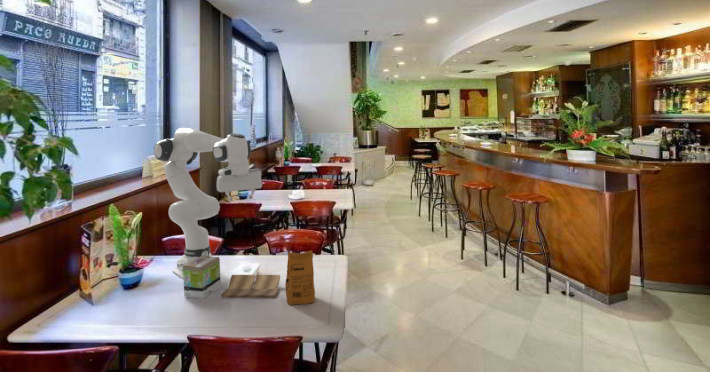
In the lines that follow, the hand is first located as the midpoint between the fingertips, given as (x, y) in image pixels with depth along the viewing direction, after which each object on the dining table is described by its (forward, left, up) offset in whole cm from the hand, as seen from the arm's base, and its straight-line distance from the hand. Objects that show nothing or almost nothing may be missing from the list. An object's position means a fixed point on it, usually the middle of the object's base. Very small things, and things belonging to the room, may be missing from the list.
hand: (240, 199), depth 193 cm
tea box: (-11, -15, -42) cm, 46 cm away
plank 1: (0, -2, -39) cm, 39 cm away
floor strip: (+10, -5, -41) cm, 43 cm away
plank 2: (+10, +5, -39) cm, 41 cm away
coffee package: (+33, +3, -42) cm, 53 cm away
